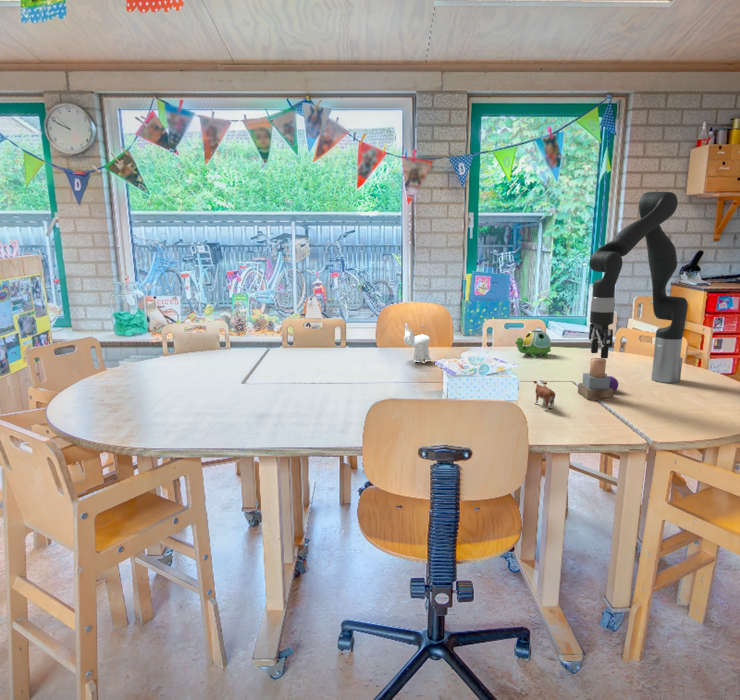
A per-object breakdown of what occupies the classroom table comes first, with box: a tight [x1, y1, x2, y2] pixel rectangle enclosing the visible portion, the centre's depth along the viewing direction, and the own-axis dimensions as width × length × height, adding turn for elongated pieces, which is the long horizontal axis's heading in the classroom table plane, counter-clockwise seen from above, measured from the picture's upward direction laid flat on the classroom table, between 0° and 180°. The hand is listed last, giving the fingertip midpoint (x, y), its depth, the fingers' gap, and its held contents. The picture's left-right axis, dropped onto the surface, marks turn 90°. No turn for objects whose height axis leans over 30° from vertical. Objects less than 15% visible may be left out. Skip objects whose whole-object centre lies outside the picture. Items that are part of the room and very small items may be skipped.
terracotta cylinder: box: [589, 357, 607, 378], centre depth 193 cm, size 5×5×6 cm
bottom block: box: [577, 382, 615, 401], centre depth 196 cm, size 9×9×4 cm
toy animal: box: [403, 322, 432, 363], centre depth 252 cm, size 20×12×17 cm, turn 3°
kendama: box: [605, 372, 619, 392], centre depth 208 cm, size 6×6×20 cm
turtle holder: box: [515, 329, 552, 358], centre depth 262 cm, size 12×18×12 cm
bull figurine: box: [533, 379, 556, 411], centre depth 184 cm, size 4×13×8 cm, turn 2°
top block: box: [582, 372, 610, 389], centre depth 195 cm, size 7×7×4 cm
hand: (599, 355), depth 192 cm, fingers open, 8 cm apart
